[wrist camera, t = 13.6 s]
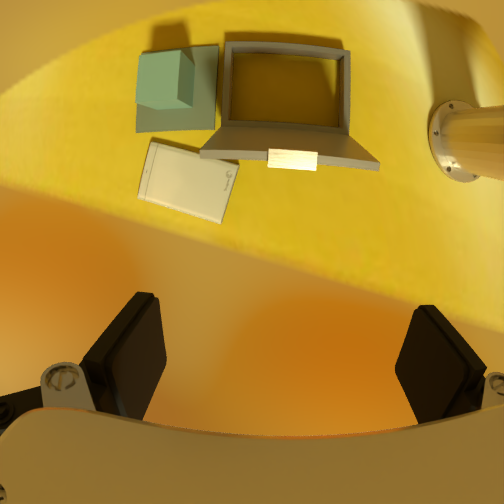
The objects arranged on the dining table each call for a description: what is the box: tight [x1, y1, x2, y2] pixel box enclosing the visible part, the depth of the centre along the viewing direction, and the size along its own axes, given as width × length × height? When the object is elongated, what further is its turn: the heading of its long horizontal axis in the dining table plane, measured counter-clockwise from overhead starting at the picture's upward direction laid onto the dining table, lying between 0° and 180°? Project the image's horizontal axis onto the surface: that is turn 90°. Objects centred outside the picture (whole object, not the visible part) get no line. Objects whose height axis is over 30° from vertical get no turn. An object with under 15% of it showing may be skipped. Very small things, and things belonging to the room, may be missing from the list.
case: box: [221, 41, 350, 135], centre depth 32 cm, size 16×12×2 cm
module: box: [135, 50, 195, 110], centre depth 30 cm, size 5×6×7 cm
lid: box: [200, 127, 380, 171], centre depth 28 cm, size 16×12×2 cm
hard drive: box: [138, 142, 240, 224], centre depth 38 cm, size 2×8×12 cm
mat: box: [136, 46, 219, 133], centre depth 34 cm, size 11×12×1 cm
